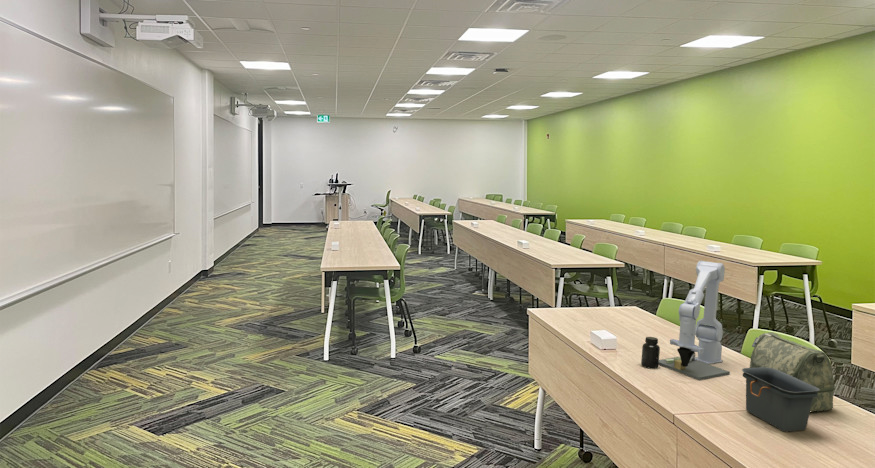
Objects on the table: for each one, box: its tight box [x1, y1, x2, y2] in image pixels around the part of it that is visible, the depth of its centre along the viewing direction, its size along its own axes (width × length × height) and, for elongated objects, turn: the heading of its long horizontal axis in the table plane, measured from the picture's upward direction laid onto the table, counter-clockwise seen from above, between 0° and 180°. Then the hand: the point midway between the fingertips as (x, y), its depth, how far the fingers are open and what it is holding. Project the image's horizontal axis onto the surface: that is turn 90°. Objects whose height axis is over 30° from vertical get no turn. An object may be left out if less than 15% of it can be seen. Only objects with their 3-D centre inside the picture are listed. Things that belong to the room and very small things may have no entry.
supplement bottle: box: [640, 336, 661, 369], centre depth 236 cm, size 7×7×12 cm
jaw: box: [673, 355, 693, 363], centre depth 237 cm, size 13×2×2 cm, turn 129°
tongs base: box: [659, 352, 731, 381], centre depth 235 cm, size 18×22×5 cm
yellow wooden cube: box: [674, 360, 685, 370], centre depth 231 cm, size 3×3×3 cm
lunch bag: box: [749, 332, 836, 412], centre depth 203 cm, size 26×18×22 cm
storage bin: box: [741, 367, 820, 433], centre depth 184 cm, size 21×16×14 cm
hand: (684, 366), depth 229 cm, fingers closed
